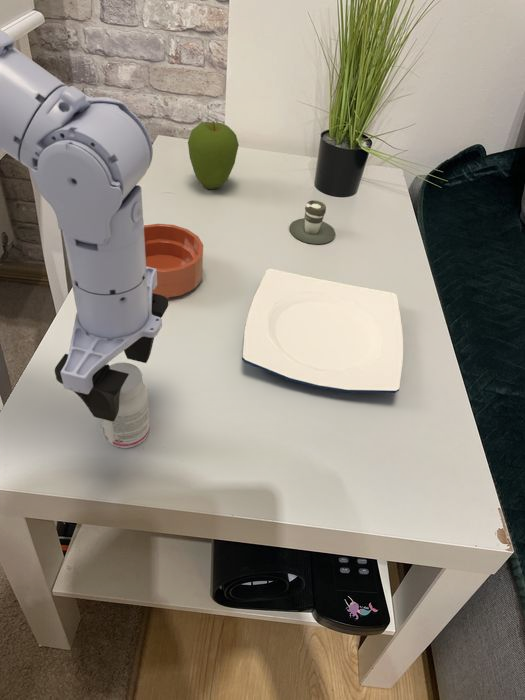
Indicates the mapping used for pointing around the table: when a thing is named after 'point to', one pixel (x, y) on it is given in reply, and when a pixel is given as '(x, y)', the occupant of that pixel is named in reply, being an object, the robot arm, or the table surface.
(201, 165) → the apple
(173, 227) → the bowl
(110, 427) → the pill bottle
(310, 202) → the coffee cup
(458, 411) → the table surface
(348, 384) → the plate
